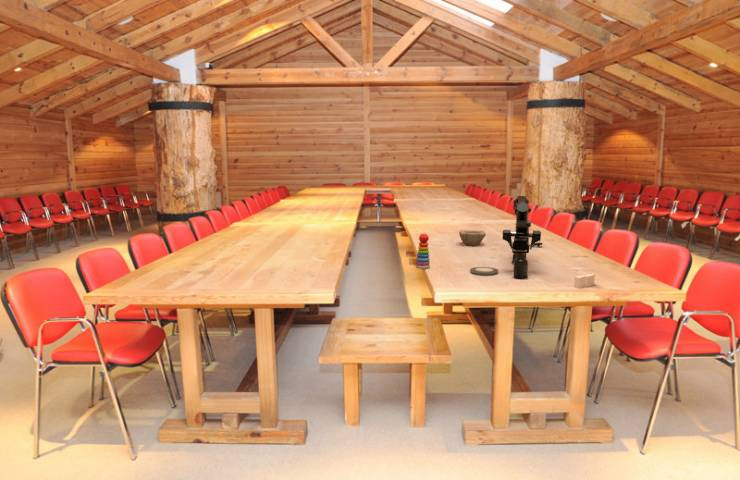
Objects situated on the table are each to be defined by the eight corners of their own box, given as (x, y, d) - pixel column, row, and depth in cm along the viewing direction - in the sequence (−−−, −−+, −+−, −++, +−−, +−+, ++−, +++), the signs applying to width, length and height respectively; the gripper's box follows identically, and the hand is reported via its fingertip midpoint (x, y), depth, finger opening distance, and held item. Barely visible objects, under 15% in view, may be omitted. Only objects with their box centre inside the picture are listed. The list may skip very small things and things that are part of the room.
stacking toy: (418, 270, 288) (418, 234, 285) (413, 266, 295) (413, 232, 292) (432, 269, 290) (432, 234, 287) (426, 266, 297) (427, 232, 294)
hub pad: (490, 269, 289) (490, 265, 288) (503, 274, 275) (503, 271, 275) (465, 270, 285) (465, 267, 285) (477, 276, 272) (477, 273, 271)
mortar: (484, 243, 368) (484, 229, 367) (485, 247, 352) (486, 233, 350) (458, 242, 371) (459, 229, 369) (459, 247, 354) (459, 233, 353)
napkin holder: (593, 283, 258) (594, 271, 257) (604, 289, 247) (605, 277, 246) (562, 284, 258) (562, 272, 257) (571, 290, 246) (572, 277, 245)
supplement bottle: (525, 275, 272) (525, 252, 270) (529, 279, 266) (530, 254, 264) (511, 276, 272) (512, 252, 270) (515, 279, 266) (516, 255, 264)
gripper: (503, 214, 279) (502, 238, 270) (541, 214, 274) (541, 240, 265) (503, 227, 287) (502, 251, 279) (540, 228, 283) (540, 253, 274)
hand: (521, 248), depth 274 cm, fingers open, 9 cm apart
